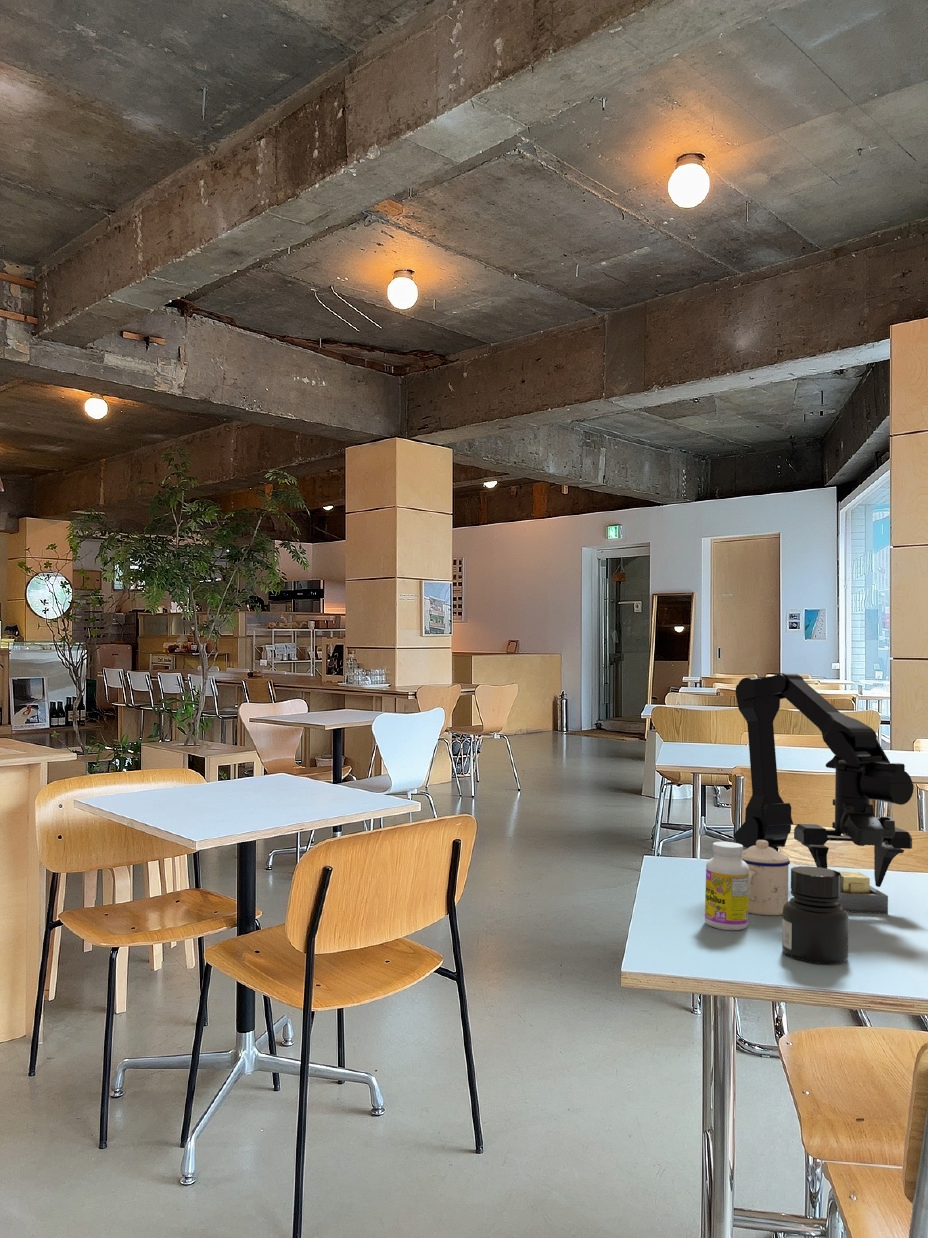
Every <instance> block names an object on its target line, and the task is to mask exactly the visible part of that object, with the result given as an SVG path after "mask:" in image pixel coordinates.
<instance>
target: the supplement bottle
mask: <svg viewBox="0 0 928 1238" xmlns="http://www.w3.org/2000/svg"><path fill="white" fill-rule="evenodd" d="M712 851H713V857H712V858H710V859H709V858H708V861H706V865H705V895H704V896H705V900H704V903H705V904H704V921H705V923H706V924H707V925H708V926H710V927H712V928H716V929H719V930H723V931H741V930H744V929H746V928H747V927H748V923H749V913H748V895H749V867H748V865H747V863H746V862H744V861H743V860H742V857H741V856H742V853H743V845H741V844H738V843H736V842H732V841H730V842H729V841H715V842H713V843H712Z"/></svg>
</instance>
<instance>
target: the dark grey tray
mask: <svg viewBox="0 0 928 1238" xmlns="http://www.w3.org/2000/svg"><path fill="white" fill-rule="evenodd" d="M840 896H841V899H840V900H839V901H837V902H838V903H840V904H841V906H842V907H843V908H844V909H845V910H846V911H847V913H858V914H860V913H861V914H862V913H863V914H883V915H885V914H887V915H888V914H889V895H888V894H885V893H884V892H882V891H880V890H878V889H876V888H874V887H873V886H871V885H870V894H859V893H841V895H840Z"/></svg>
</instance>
